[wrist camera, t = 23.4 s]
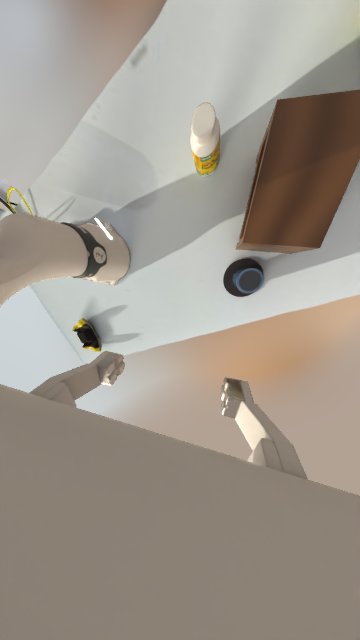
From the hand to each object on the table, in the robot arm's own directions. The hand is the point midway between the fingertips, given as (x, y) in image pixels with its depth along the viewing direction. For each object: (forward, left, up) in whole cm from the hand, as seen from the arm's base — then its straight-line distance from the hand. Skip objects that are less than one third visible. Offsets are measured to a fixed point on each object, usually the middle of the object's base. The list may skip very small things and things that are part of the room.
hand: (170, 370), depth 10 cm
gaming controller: (-46, -24, -34) cm, 62 cm away
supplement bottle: (-5, +30, -34) cm, 46 cm away
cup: (+10, +6, -34) cm, 35 cm away
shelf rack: (+12, +22, -34) cm, 42 cm away
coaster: (+9, +6, -34) cm, 36 cm away
